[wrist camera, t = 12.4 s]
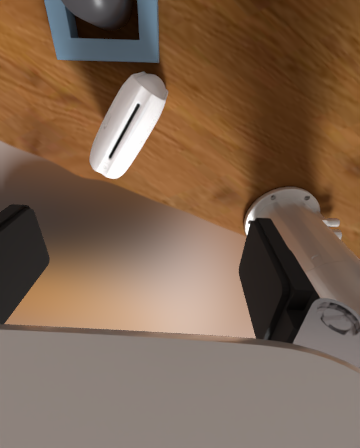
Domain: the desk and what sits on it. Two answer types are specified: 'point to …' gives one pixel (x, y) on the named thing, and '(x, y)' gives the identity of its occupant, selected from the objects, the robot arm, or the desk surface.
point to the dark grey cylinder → (102, 12)
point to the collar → (104, 48)
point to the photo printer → (128, 124)
